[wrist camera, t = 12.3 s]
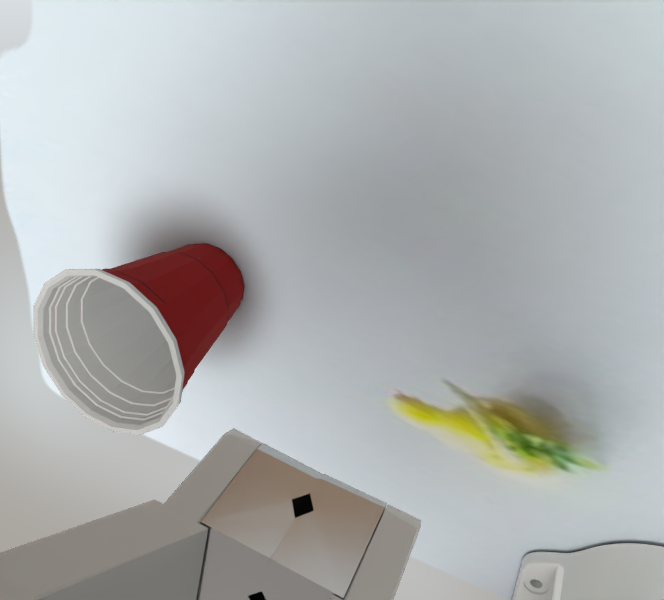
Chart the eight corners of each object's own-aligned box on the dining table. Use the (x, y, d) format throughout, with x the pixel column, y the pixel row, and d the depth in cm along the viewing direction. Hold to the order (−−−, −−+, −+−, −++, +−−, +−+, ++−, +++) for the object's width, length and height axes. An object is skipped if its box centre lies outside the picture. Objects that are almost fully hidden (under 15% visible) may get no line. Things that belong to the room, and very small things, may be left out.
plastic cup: (273, 217, 42) (166, 294, 32) (278, 353, 47) (187, 455, 38) (140, 195, 46) (7, 258, 36) (158, 324, 51) (46, 409, 41)
